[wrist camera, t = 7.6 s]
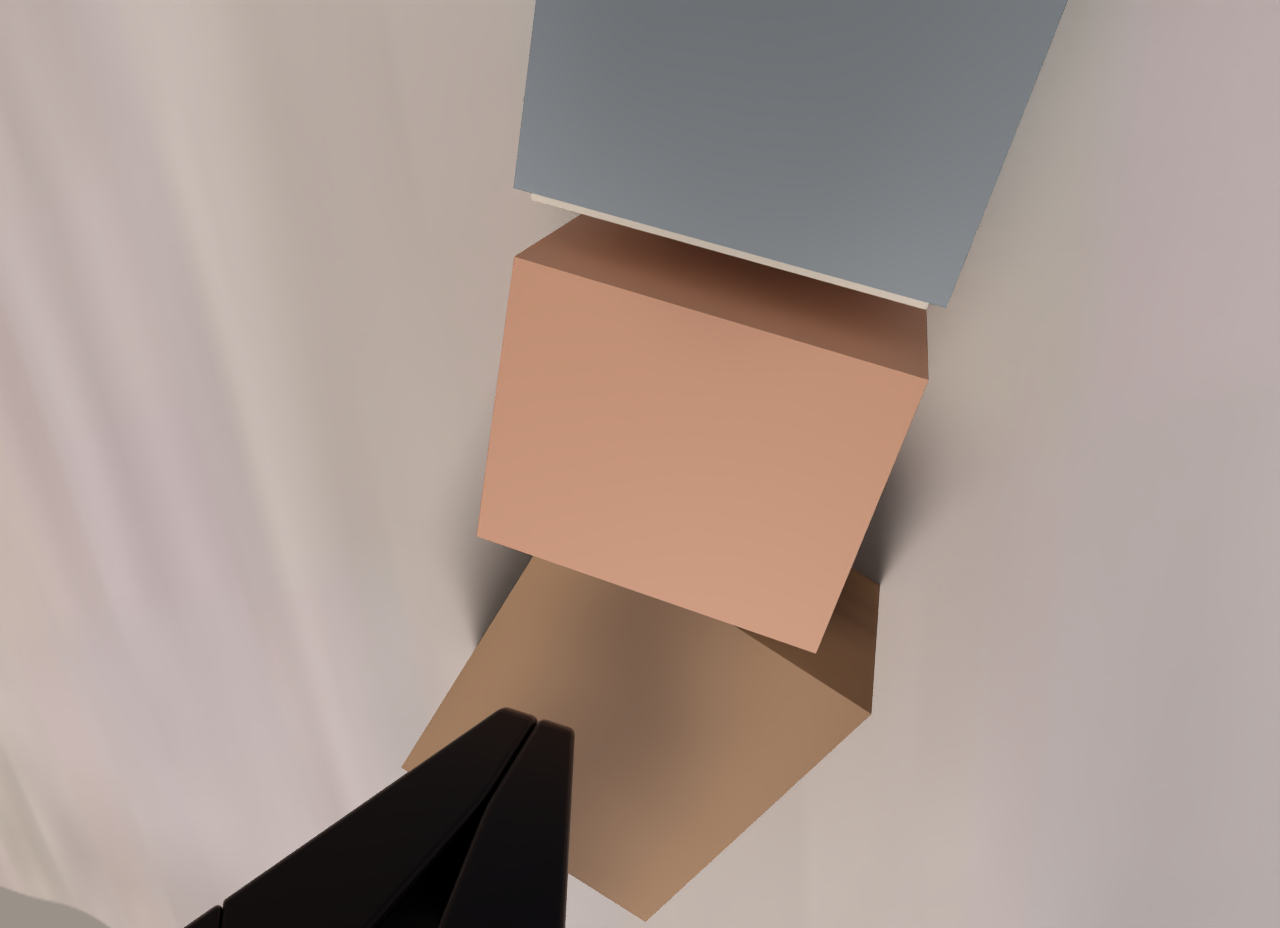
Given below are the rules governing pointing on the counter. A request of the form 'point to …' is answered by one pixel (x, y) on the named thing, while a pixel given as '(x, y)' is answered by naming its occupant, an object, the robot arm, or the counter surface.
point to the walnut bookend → (662, 717)
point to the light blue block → (786, 126)
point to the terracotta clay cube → (696, 423)
